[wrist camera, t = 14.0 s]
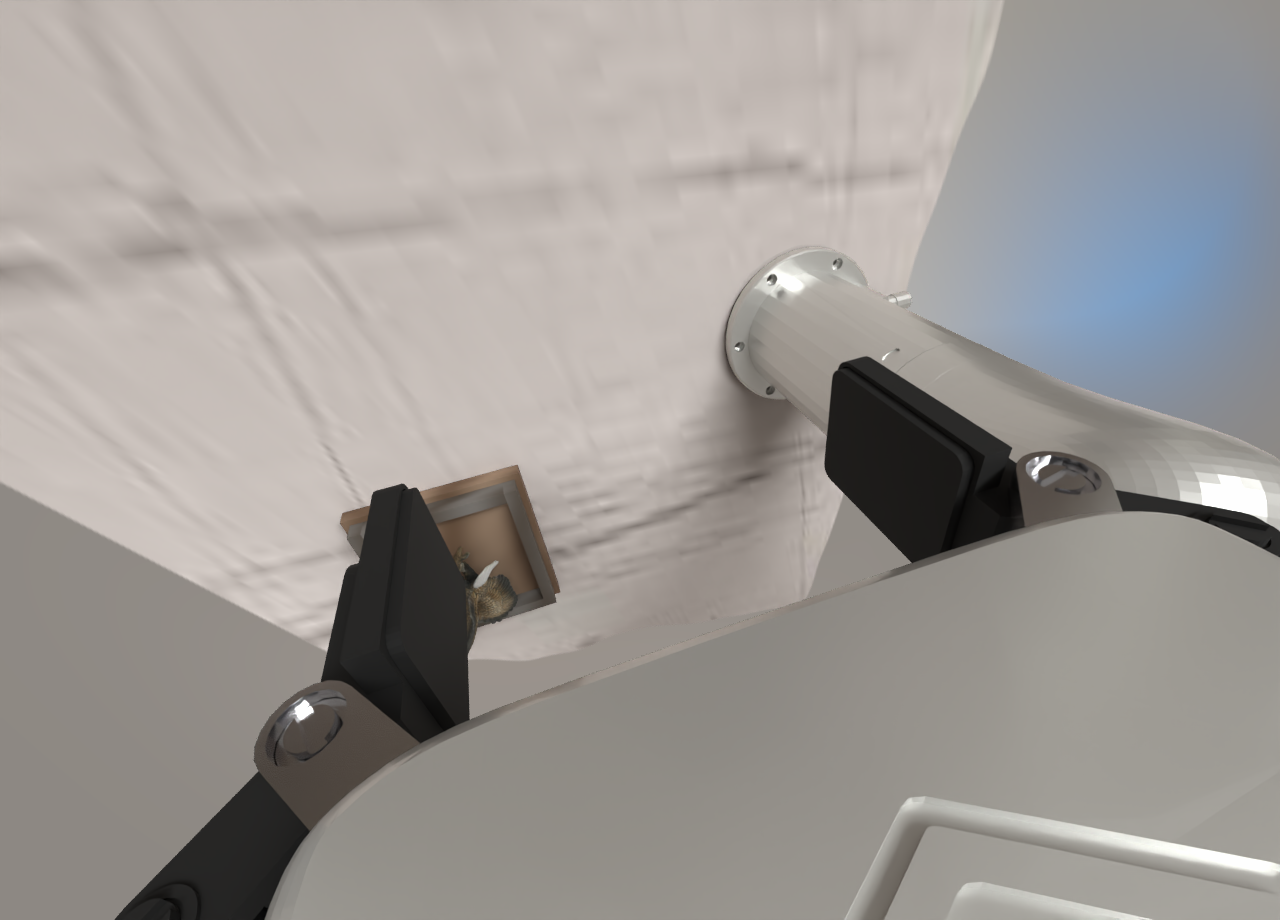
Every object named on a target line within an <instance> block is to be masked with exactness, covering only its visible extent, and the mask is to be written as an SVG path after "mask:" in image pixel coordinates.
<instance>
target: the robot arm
mask: <svg viewBox="0 0 1280 920" xmlns="http://www.w3.org/2000/svg"><path fill="white" fill-rule="evenodd" d="M768 277H769V278H768ZM767 278H768V279H767ZM910 305H911V296H910V294H909V293H908V292H907V291H903V292H899V293H895V294H891V295H889V296H885V295H883V294H881V293H878V292H876V291H874V290H872V289H870V288H869V286H868V282H867V280H866V278H865V275H864V273H863V271H862V270H861V269H860V267H859V266H858V265H857V264H856V262H854V261H853V260H852V259H850V258H849V257H847V256H846V255H844V254H842V253H840V252H837V251H835V250H832V249H828V248H824V247H805V248H801V249H797V250H793V251H790V252H788V253H786V254H784V255H781V256H779V257H777V258H776V259H775V260H773V261H772V262H770V263H769V264H767V265H766V266H764V267H763V268H762V269H761V270H760V271H759V272H758V273H757V274H756V275H755V276H754V277H753V278H752V279H751V280H750V282H749V283H748V284H747V285H746V287H745V288H744V289H743V291H742V292H741V294H740V296H739V298H738V299H737V301H736V303H735V305H734V307H733V310H732V313H731V315H730V318H729V322H728V327H727V332H726V352H727V357H728V362H729V364H730V366H731V368H732V371H733V373H734V374H735V375H736V377H737V378H738V379H739V381H740V382H741V383H742V384H743V385H744V386H745V387H746V388H747V389H749V390H750V391H752V392H753V393H755V394H757V395H759V396H762V397H764V398H768V399H777V400H782V399H787V400H788V401H790V402H791V403H792V404H793V405H794V406H795V407H796V408H797V409H798V410H799V411H800V412H802V413H803V414H804V415H805V416H806V417H807V418H808V419H809V420H810V421H811V422H812V423H814V424H815V425H816V426H817V427H818V428H819V429H820V430H821V431H822V432H823V433H824V434H825V435H827V441H826V452H825V470H826V473H827V475H828V477H829V478H830V479H831V481H832V482H833V483H834V484H835V485H836V486H837V487H838V488H839V489H840V490H841V491H842V492H843V493H844V494H845V495H846V496H847V497H848V498H849V499H850V500H851V501H852V502H853V503H854V504H855V505H856V506H857V507H858V508H859V509H860V510H861V511H862V512H863V513H864V514H865V515H866V516H867V517H868V518H869V519H870V520H871V522H872V523H874V524H875V526H876V527H877V528H878V529H879V530H880V531H881V532H882V533H883V534H884V535H885V536H886V537H887V538H888V539H889V540H890V541H891V542H892V543H893V544H894V545H895V546H896V547H897V548H898V549H899V550H900V551H901V552H902V553H903V554H904V555H905V556H906V557H907V558H908V559H909V560H910V561H911V562H912V563H911V564H908V565H905V566H902V567H899V568H896V569H893V570H890V571H887V572H884V573H881V574H879V575H875V576H872V577H869V578H866V579H863V580H861V581H858V582H855V583H852V584H849V585H846V586H843V587H840V588H837V589H834V590H831V591H828V592H826V593H822V594H820V595H817V596H814V597H811V598H808V599H805V600H802V601H799V602H796V603H793V604H790V605H788V606H785V607H782V608H779V609H776V610H773V611H770V612H767V613H765V614H761V615H759V616H756V617H753V618H750V619H747V620H745V621H741V622H738V623H736V624H733V625H730V626H727V627H724V628H721V629H718V630H715V631H712V632H709V633H706V634H704V635H701V636H698V637H695V638H692V639H690V640H687V641H684V642H681V643H678V644H675V645H672V646H670V647H667V648H664V649H661V650H658V651H655V652H652V653H650V654H647V655H644V656H641V657H638V658H635V659H632V660H629V661H627V662H624V663H621V664H618V665H615V666H612V667H610V668H607V669H604V670H601V671H598V672H596V673H592V674H590V675H587V676H584V677H581V678H579V679H576V680H573V681H570V682H567V683H565V684H562V685H559V686H557V687H554V688H551V689H548V690H546V691H543V692H540V693H538V694H535V695H532V696H530V697H527V698H524V699H521V700H519V701H516V702H513V703H511V704H508V705H505V706H502V707H500V708H498V709H495V710H492V711H490V712H488V713H485V714H483V715H480V716H478V717H476V718H473V719H471V720H470V719H469V687H468V686H469V684H468V650H467V615H466V589H465V584H464V580H463V577H462V575H461V573H460V571H459V569H458V567H457V565H456V563H455V561H454V559H453V557H452V555H451V553H450V551H449V549H448V547H447V545H446V543H445V541H444V539H443V537H442V535H441V533H440V531H439V529H438V527H437V525H436V523H435V521H434V519H433V517H432V515H431V513H430V511H429V509H428V507H427V505H426V504H425V502H424V500H423V498H422V496H421V494H420V492H419V490H418V489H417V488H412V489H408V488H407V486H406V485H405V484H399V485H396V486H392V487H388V488H385V489H381V490H378V491H375V492H373V495H372V499H371V504H370V509H369V514H368V519H367V524H366V529H365V534H364V539H363V545H362V550H361V555H360V560H359V563H358V564H354V565H351V566H349V567H348V568H347V570H346V572H345V575H344V579H343V584H342V588H341V593H340V597H339V602H338V606H337V611H336V615H335V620H334V624H333V629H332V633H331V638H330V643H329V647H328V652H327V656H326V661H325V665H324V670H323V675H322V679H321V682H320V683H316V684H313V685H311V686H309V687H307V688H305V689H303V690H301V691H299V692H297V693H296V694H294V695H293V696H292V697H290V698H289V699H288V700H286V701H285V702H284V703H283V704H282V705H281V706H280V707H279V708H278V709H277V710H276V711H275V712H274V713H273V714H272V715H271V716H270V717H269V719H268V720H267V722H266V723H265V725H264V726H263V728H262V729H261V731H260V733H259V736H258V739H257V741H256V744H255V747H254V762H255V764H256V767H257V769H258V773H256V774H255V776H254V777H253V778H252V779H251V780H250V781H249V782H248V783H247V784H246V785H245V786H244V787H243V788H242V789H241V790H240V791H239V792H238V793H237V794H236V795H235V796H234V797H233V798H232V799H231V800H230V801H229V802H228V803H227V804H226V805H225V806H224V807H223V808H222V809H221V810H220V811H219V812H218V813H217V814H216V815H215V816H214V817H213V818H212V819H211V820H210V822H208V823H207V825H205V827H204V828H202V830H201V831H200V832H199V833H198V834H197V835H196V836H195V837H194V838H193V839H192V840H191V841H190V842H189V843H188V844H187V845H186V846H185V847H184V848H183V849H182V850H181V851H180V852H179V853H178V854H177V855H176V856H175V857H174V858H173V859H172V860H171V861H170V862H169V863H168V864H167V865H166V866H165V867H164V868H163V869H162V870H161V871H160V872H159V873H158V874H157V875H156V876H155V877H154V878H153V880H152V881H150V883H149V884H148V885H147V886H146V887H145V888H144V889H143V890H142V891H141V892H140V893H139V894H138V895H137V896H136V897H135V898H134V899H133V900H132V901H131V902H130V903H129V904H128V905H127V906H126V907H125V908H124V909H123V911H122V912H121V913H120V914H119V915H118V916H117V917H116V919H115V920H1280V460H1279V459H1277V458H1276V457H1274V456H1273V455H1271V454H1269V453H1267V452H1265V451H1263V450H1261V449H1259V448H1256V447H1255V446H1253V445H1250V444H1248V443H1246V442H1244V441H1242V440H1240V439H1237V438H1235V437H1232V436H1229V435H1227V434H1224V433H1221V432H1218V431H1216V430H1213V429H1210V428H1207V427H1205V426H1202V425H1199V424H1196V423H1193V422H1189V421H1186V420H1183V419H1179V418H1176V417H1173V416H1169V415H1166V414H1162V413H1159V412H1156V411H1152V410H1149V409H1146V408H1142V407H1139V406H1136V405H1132V404H1129V403H1126V402H1122V401H1119V400H1116V399H1113V398H1110V397H1106V396H1103V395H1100V394H1098V393H1095V392H1092V391H1089V390H1086V389H1083V388H1080V387H1078V386H1075V385H1072V384H1069V383H1066V382H1063V381H1061V380H1059V379H1056V378H1054V377H1052V376H1049V375H1047V374H1045V373H1042V372H1040V371H1038V370H1035V369H1033V368H1030V367H1028V366H1026V365H1024V364H1021V363H1019V362H1017V361H1014V360H1012V359H1010V358H1008V357H1006V356H1004V355H1001V354H999V353H997V352H995V351H993V350H991V349H989V348H987V347H984V346H983V345H980V344H978V343H975V342H973V341H971V340H969V339H966V338H964V337H962V336H960V335H958V334H956V333H954V332H952V331H950V330H948V329H946V328H944V327H942V326H940V325H937V324H935V323H933V322H931V321H929V320H927V319H925V318H923V317H921V316H919V315H917V314H915V313H912V312H910V311H908V310H906V308H908V307H909V306H910Z"/></svg>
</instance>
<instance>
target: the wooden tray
mask: <svg viewBox="0 0 1280 920" xmlns="http://www.w3.org/2000/svg"><path fill="white" fill-rule="evenodd" d="M420 494H421V496H422V498H423V500H424V502H425V504H426V505H427V507H428V509H429V511H430V513H431V515H432V517H433V519H434V521H435V523H436V525H437V527H438V529H439V531H440V533H441V535H442V537H443V539H444V541H445V543H446V545H447V547H448V549H449V551H450V553H451V555H452V557H453V556H454V555H455V554H456V553H457V550H458V548H459V547H462V553H463V555H464V553H466V552H469V553H470V554H469V556H468V558H467V559H465V560H463V561H465V562H466V563H467V564H469V566H470V567H471V568H473V569H474V571H475V572H476V573H477V574H478V575H479V574H480V573H481V572H482V571H483V570H484V568H485V567H486V566H488V565H490V564H492V563H493V562H494V561H495V560H497V561H498V564H497V565H496V566H495V567H494V568H493V569H492V571H491V573H490V575H489V577H491V578H492V577H493V576H498V575H499V574H500V575H501V574H503V575H504V576H505V577H507V578H508V579H509V581H510V585H511V586H512V588H513V591H515V593H516V595H517V596H518V597H517V598H518V601H517V604H516V606H515V607H514V608H513V610H512V611H509V614H508V616H507V617H505V618H503V619H506V618H509V617H512V616H515V615H518V614H521V613H524V612H527V611H531V610H534V609H537V608H540V607H543V606H546V605H549V604H552V603H556V598H555V594H556V593H559V592H560V589H559V584H558V581H557V578H556V575H555V572H554V569H553V567H552V564H551V561H550V558H549V555H548V552H547V549H546V546H545V543H544V540H543V538H542V535H541V532H540V529H539V526H538V523H537V520H536V517H535V514H534V511H533V508H532V506H531V503H530V500H529V497H528V494H527V491H526V488H525V485H524V482H523V479H522V476H521V474H520V471H519V468H518V465H515V466H511V467H508V468H504V469H500V470H497V471H493V472H490V473H486V474H482V475H479V476H475V477H472V478H468V479H464V480H461V481H457V482H453V483H450V484H446V485H443V486H439V487H435V488H432V489H428V490H425V491H421V492H420ZM369 509H370V506H367V507H363V508H360V509H356V510H353V511H349V512H345V513H343V514H342V518H341V521H340V524H341V525H342V527H343V528H344V530H345V531H346V533H347V534H348V535H347V540H348V541H349V543H350V544H351V546H352V547H353V549H354V550H355V552H356V553H357V555H358V556H359V558H360V555H361V550H362V545H363V539H364V534H365V529H366V524H367V519H368V514H369ZM460 573H461V574H462V576H464V574H463V572H460ZM464 579H465V577H464ZM477 612H478V608H477ZM478 613H479V612H478ZM477 616H478V615H477ZM477 619H478V618H477ZM487 624H490V622H489V623H487ZM487 624H485V623H483V622H482V623H478V621H477V627H481V626H484V625H487Z"/></svg>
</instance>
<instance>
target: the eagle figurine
mask: <svg viewBox="0 0 1280 920" xmlns="http://www.w3.org/2000/svg"><path fill="white" fill-rule="evenodd" d="M469 554H470V553H469V552H466V553H464V555H463V553H462V547H459V548H458V550H457V553H456V554H455V555H454V556H453V559H454V561H455V563H456V565H457V567H458V569H459V571H460V572H463V574H464V576H462V577H463V580H464V584H465V589H466V615H467V650H468V653H469V650H470V649H471V647H472V644H473V642H474V639H475V635H476V631H477V621H478V623H482V622H483V623H485V624H487V623H489V622H490V623H492V624H494V623H495V622H496V621H498V622H500V621H502V619H503V618H505V617H507V616H508V614H509V611H512V610H513V608H514V607H515V606H516V604H517V601H518V598H517V597H518V596H517V595H516V593H515V591H513V588H512V586H511V585H510V581H509V579H508V578H507V577H505V576H504V575H503V574H501V575H500V574H499V575H498V576H493V577H492V578H491V577H489V575H490V573H491V571H492V569H493V568H494V567H495V566H496V565H497V564H498V561H497V560H495V561H494V562H493V563H492V564H490V565H488V566H486V567H485V568H484V570H483V571H482V572H481V573H480V574H479V575H478V574H477V573H476V572H475V571H474V569H473V568H471V567H470V566H469V564H467V563H466V562H465V561H463V560H465V559H467V558H468V556H469ZM461 575H462V574H461ZM464 577H465V579H464ZM477 608H478V612H479V613H478V612H477ZM477 615H478V616H477ZM477 618H478V619H477Z"/></svg>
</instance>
